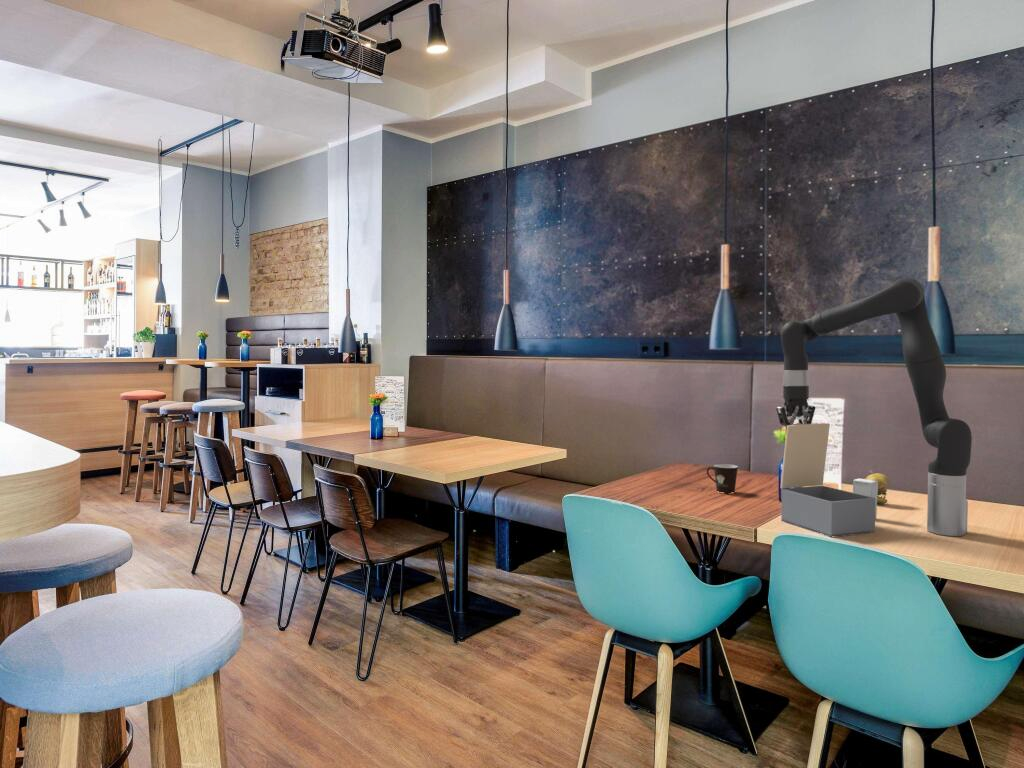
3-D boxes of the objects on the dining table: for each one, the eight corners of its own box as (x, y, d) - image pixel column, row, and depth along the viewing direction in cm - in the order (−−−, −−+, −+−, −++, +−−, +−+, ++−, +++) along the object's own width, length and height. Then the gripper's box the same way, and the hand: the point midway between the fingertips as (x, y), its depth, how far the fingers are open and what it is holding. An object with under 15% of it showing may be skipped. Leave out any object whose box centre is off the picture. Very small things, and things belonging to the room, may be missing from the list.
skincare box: (851, 517, 209) (851, 479, 209) (857, 515, 212) (858, 477, 212) (871, 521, 204) (871, 482, 204) (877, 518, 207) (878, 480, 207)
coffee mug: (742, 493, 246) (742, 467, 246) (722, 495, 244) (722, 468, 243) (724, 488, 257) (724, 462, 257) (704, 489, 255) (705, 463, 255)
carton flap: (822, 484, 210) (807, 479, 216) (829, 423, 207) (814, 419, 213) (781, 488, 205) (767, 482, 211) (788, 425, 202) (774, 421, 208)
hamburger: (893, 505, 226) (894, 470, 225) (878, 507, 223) (878, 472, 222) (873, 501, 233) (874, 467, 232) (858, 502, 230) (859, 468, 230)
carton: (822, 516, 210) (822, 485, 210) (874, 532, 191) (875, 498, 191) (781, 520, 205) (781, 489, 205) (831, 537, 186) (831, 502, 186)
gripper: (804, 384, 215) (804, 436, 216) (769, 384, 211) (769, 438, 211) (822, 384, 208) (822, 438, 209) (786, 385, 203) (786, 440, 204)
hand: (795, 438), depth 210 cm, fingers closed on carton flap, 4 cm apart
